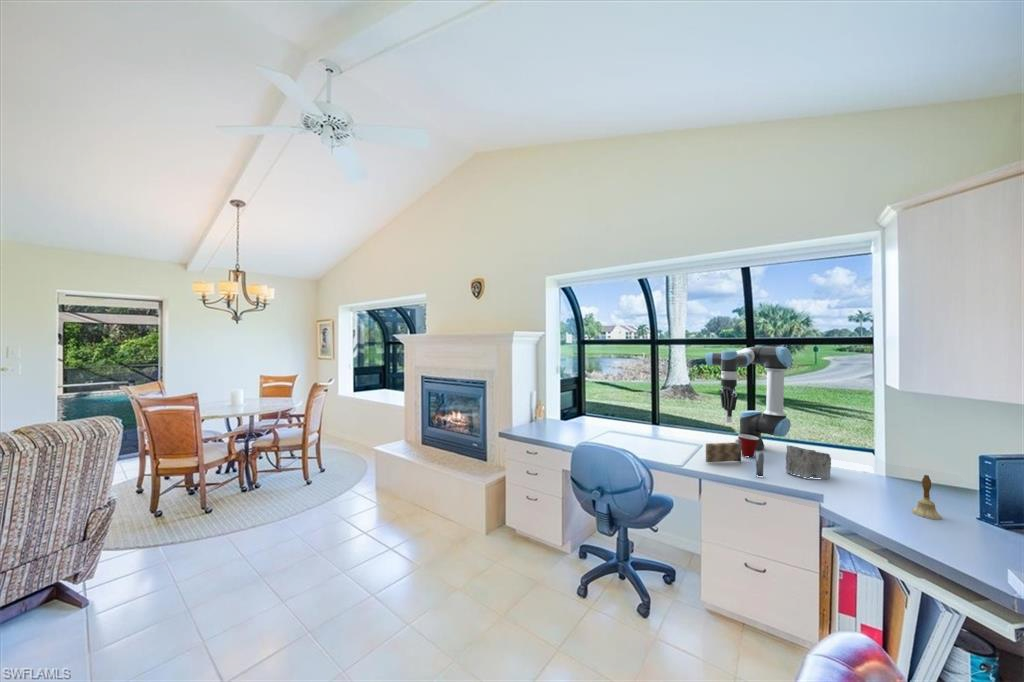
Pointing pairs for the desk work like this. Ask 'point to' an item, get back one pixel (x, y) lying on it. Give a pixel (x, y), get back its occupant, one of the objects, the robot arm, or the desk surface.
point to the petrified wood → (808, 463)
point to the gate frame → (759, 459)
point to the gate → (722, 452)
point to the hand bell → (926, 502)
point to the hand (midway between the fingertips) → (728, 422)
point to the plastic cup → (748, 444)
